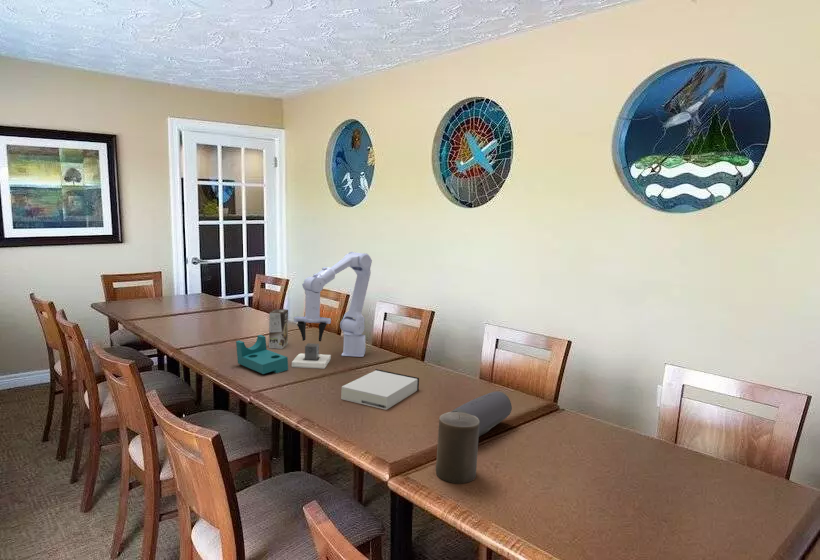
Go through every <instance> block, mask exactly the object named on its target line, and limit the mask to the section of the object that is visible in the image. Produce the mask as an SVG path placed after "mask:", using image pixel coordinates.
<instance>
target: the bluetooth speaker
mask: <svg viewBox="0 0 820 560" xmlns="http://www.w3.org/2000/svg"><path fill="white" fill-rule="evenodd" d="M512 410H513V408H512V401H511V399H510V398H509V396H508V395H507V394H506V393H504V392H502V391H497V390H495V391H491V392H489V393H486V394H484V395H481V396H479V397H476V398H474V399H472V400H469V401H468V402H466V403H463V404H462V405H460V406H458V407H456V408H454V409H453V410H451V412H459V413H466V414H470V415H473V416H476V417H477V418H478V419H479V422H480V424H479V437H481V436H482V435H484V434H487V433H488V432H489V431H490V430H491V429H492V428H494V427H495V426H497V425H499V424H500V423H501V422H503V421H504V420H505V419H507V418H508V417H509V416H510V415H511V413H512Z"/></svg>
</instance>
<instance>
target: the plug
mask: <svg viewBox="0 0 820 560" xmlns="http://www.w3.org/2000/svg"><path fill="white" fill-rule="evenodd" d="M319 349H320V343H309V342H307V343H306V344H305V346H304V354H305V360H311V361H318V360H319V353H320V351H319Z"/></svg>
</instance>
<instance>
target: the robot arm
mask: <svg viewBox="0 0 820 560" xmlns="http://www.w3.org/2000/svg"><path fill="white" fill-rule="evenodd" d="M372 264H373V260H372V258H371V256H370V255H369V254H368V253H365V252H364V253H363V252H357V251H356V252H355V251H349V252H348V253H346V254H345V255H344V257H342V258H341V259H340V260H338V261H337V262H336V263H335V264H333V265H332V266H331V267H328V266H326V267H325V266H324V267H322V268H321V270H319V271H318V272H316V273H314V274H313V275H312V276H306V278H305V279H304V281H303V283H301V284H302V288H303V290H304V294H305V295H304V296H305V300H304V301H305V302H304V303H305V304H304V305H305V309H304V310H305V311H304V314H305V315H304V316H294V317H293V323H297V327H298V329H299V331H300V335H301V339H302V341H304V342H305V340H306V337H307V336H306V326H307V323H310V324H313V323H314V324H318V342H321V341H322V338H323V334H324V331H325V329H326V327H327V325H329V324H331V323H332V318H330V317H329V318H328V317H321V315H320V313H321V292H322V291H323V289H324V286H326V285H327V284H329V283H330V282H331V281H333V280H335V279H336V275H337V274H339V273H340V272H343V271H344V270H346V269H347V268H349V267H350V268H351V270H353V271H354V272H355V275H356V278H355V284H354V287H353V292H352V297H351V299H350V305H349V309H348V310H347V312H345V313H344V315H343V318H342V320H341V321H340V323H339V328H340V329H341V331H342V334H343V352H342V353H341V354H340V356H341V357H360V358H363V357H364V356H365V354H366V335H365V334H363V333H364V331H365V320H366V318H365V316H364V315H363V314H362V313H363V310H364V309H363V308H364V304H365V300H366V295H367V290H368V286H369V282H370V278H371V271H372V270H371V267H372Z"/></svg>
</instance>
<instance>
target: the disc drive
mask: <svg viewBox="0 0 820 560" xmlns="http://www.w3.org/2000/svg"><path fill="white" fill-rule="evenodd" d="M419 386H420V377H417V376H411V375H407V374H401V373H395V372H392V371H388V370H383V369H377V368H376V369H375V370H373V371H372V372H370V373H367V374H365V375H363V376H360V377H359V378H357V379H354V380H353V381H350V382H349V383H346V384H344V385H342V386H341V391H340V393H341V394H340V395H341V396H340V399H341V400H343V401H348V402H352V403H355V404H359V405H365V406H369V407H373V408H377V409H382V410H385V411H387V410H389V409H390V408H392V407H393V406H394V405H397V404H398V403H399V402H401V401H403V400H405V399H406V398H408V397H409V396H411V395H413V394H414V393H416V392H417V391H419V388H420V387H419Z"/></svg>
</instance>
